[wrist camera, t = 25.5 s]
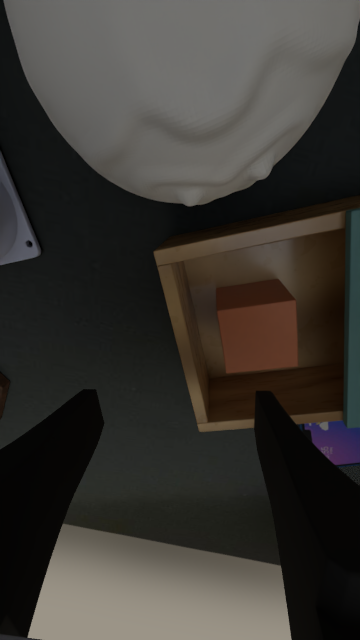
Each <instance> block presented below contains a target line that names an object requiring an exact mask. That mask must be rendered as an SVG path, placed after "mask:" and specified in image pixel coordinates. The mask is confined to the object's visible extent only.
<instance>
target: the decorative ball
mask: <svg viewBox="0 0 360 640" xmlns="http://www.w3.org/2000/svg"><path fill="white" fill-rule="evenodd" d="M3 1H4V5H5V9H6V13H7V17H8V21H9V24H10V28H11V31H12V34H13V38H14V41H15V45H16V48H17V52H18V55H19V58H20V62H21V65H22V68H23V70H24V73H25V76H26V78H27V80H28V82H29V85H30V86H31V88H32V90H33V92H34V94H35V95H36V97H37V98H38V100H39V102H40V103H41V105H42V107H43V108H44V110H45V112H46V113H47V115H48V117H49V118H50V120H51V121H52V123H53V124H54V126H55V127H56V129H57V130H58V131H59V132H60V134H61V135H62V136H63V137H64V138H65V140H66V141H67V142H68V143H69V144H70V146H71V147H72V148H73V149H74V150H75V151H76V152H77V153H78V154H79V155H80V156H81V157H82V158H83V159H84V160H85V161H86V162H87V163H88V164H89V165H90V166H91V167H92V168H93V169H94V170H95V171H97V172H98V173H99V174H100V175H102V176H103V177H105V178H106V179H108V180H109V181H111V182H112V183H114V184H116V185H118V186H119V187H121V188H123V189H125V190H127V191H129V192H131V193H134V194H136V195H139V196H142V197H145V198H148V199H152V200H156V201H161V202H168V203H183V204H184V205H186V206H194V205H202V204H206V203H209V202H211V201H213V200H215V199H217V198H221V197H225V196H227V195H229V194H231V193H233V192H236V191H240V190H243V189H245V188H248V187H250V186H251V185H252V184H254V183H255V182H256V181H257V180H262V179H264V178H266V177H267V176H268V175H269V174H270V172H271V170H272V167H273V166H274V165H275V164H276V163H277V162H278V161H279V160H280V159H282V158H283V157H284V156H285V155H286V154H287V153H288V152H289V151H290V149H291V148H292V147H293V146H294V145H295V144H296V143H297V142H298V140H299V139H300V138H301V137H302V135H303V134H304V133H305V131H306V130H307V129H308V127H309V126H310V125H311V123H312V122H313V120H314V119H315V117H316V116H317V114H318V113H319V111H320V109H321V108H322V106H323V104H324V103H325V101H326V99H327V97H328V95H329V93H330V92H331V90H332V88H333V86H334V84H335V81H336V79H337V77H338V75H339V73H340V71H341V69H342V66H343V64H344V62H345V60H346V58H347V57H348V55H349V54H350V52H351V50H352V48H353V46H354V43H355V40H356V36H357V28H358V23H359V20H360V0H3Z"/></svg>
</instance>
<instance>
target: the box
mask: <svg viewBox="0 0 360 640" xmlns="http://www.w3.org/2000/svg"><path fill="white" fill-rule="evenodd" d="M356 208H360V195H357V196H353V197H348V198H344V199H339V200H335V201H330V202H326V203H321V204H316V205H312V206H307V207H303V208H298V209H294V210H289V211H285V212H280V213H276V214H271V215H267V216H262V217H258V218H253V219H249V220H244V221H239V222H235V223H230V224H226V225H221V226H217V227H212V228H208V229H203V230H199V231H194V232H190V233H185V234H181V235H176V236H172V237H169V238H168V239H167V240H166V241H165V242H163V243H162V244H161V245H160V246H159V247H158V248H157V249H156V250H155V251H154V256H155V260H156V264H157V266H158V267H157V268H158V272H159V276H160V280H161V284H162V288H163V291H164V295H165V299H166V303H167V307H168V311H169V315H170V319H171V323H172V327H173V331H174V335H175V339H176V342H177V346H178V350H179V354H180V358H181V362H182V366H183V370H184V374H185V378H186V382H187V386H188V390H189V393H190V397H191V401H192V405H193V409H194V413H195V417H196V421H197V425H198V429H199V432H207V431H219V430H232V429H244V428H254V418H255V394H256V391H271V392H272V393H273V394H274V395H275V397H276V398H277V400H278V401H279V403H280V404H281V405H282V407H283V408H284V409H285V411H286V412H287V413H288V415H289V416H290V417H291V418H292V420H293V421H294V422H295V423H296V424H306V423H318V422H330V421H343V392H344V314H345V237H346V211H347V210H351V209H356ZM273 279H279V280H280V281H281V282H282V283H283V285H284V286H285V287H286V288H287V289H288V291H289V292H290V293H291V294H292V295H293V297H294V298H295V299H296V303H297V334H298V366H297V367H287V368H277V369H267V370H257V371H247V372H237V373H226V368H225V362H224V355H223V349H222V342H221V336H220V329H219V323H218V317H217V305H216V288H221V287H228V286H234V285H241V284H247V283H254V282H260V281H267V280H273Z"/></svg>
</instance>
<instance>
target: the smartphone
mask: <svg viewBox="0 0 360 640" xmlns="http://www.w3.org/2000/svg"><path fill="white" fill-rule="evenodd" d="M298 426H299V428H300V429H301V430H302V431H303V433H304V434H305V435H306V436H307V437H308V438H309V439H310V440H311V441H312V443H313V444H314V445H315V446H316V447H317V448H318V449H319V450H320V451H321V452H322V453H323V454H324V455H325V456H326V457H327V458H328V459H329V460H330V461H331V462H332V463H333V464H335V465H336V466H337V467H346V466H356V465H360V428H347V427H346V426H345V424H344V422H343V421H330V422H318V423H306V424H298Z"/></svg>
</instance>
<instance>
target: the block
mask: <svg viewBox="0 0 360 640" xmlns="http://www.w3.org/2000/svg"><path fill="white" fill-rule="evenodd" d="M216 305H217V317H218V323H219V329H220V336H221V342H222V349H223V355H224V362H225V368H226V373H237V372H247V371H257V370H267V369H277V368H287V367H297V366H298V334H297V303H296V299H295V298H294V297H293V295H292V294H291V293H290V292H289V291H288V289H287V288H286V287H285V286H284V285H283V283H282V282H281V281H280V280H279V279H273V280H267V281H260V282H254V283H247V284H241V285H234V286H228V287H221V288H216Z"/></svg>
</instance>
